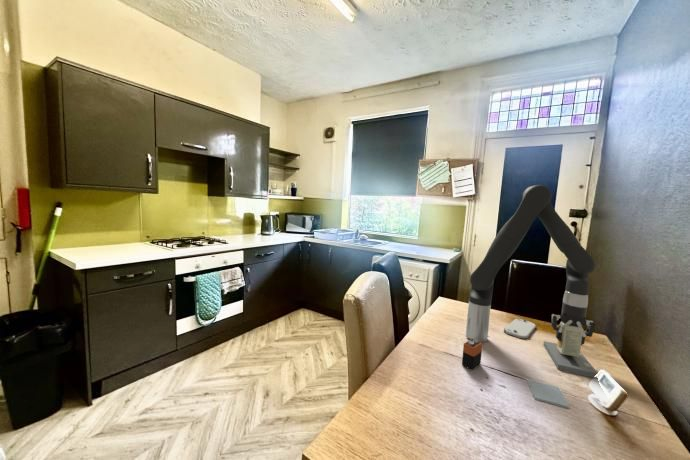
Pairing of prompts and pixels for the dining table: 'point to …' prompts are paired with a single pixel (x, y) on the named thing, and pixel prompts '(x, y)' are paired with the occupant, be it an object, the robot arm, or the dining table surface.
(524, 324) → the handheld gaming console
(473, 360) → the battery
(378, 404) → the dining table surface
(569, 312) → the robot arm
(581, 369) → the switch panel
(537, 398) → the mat
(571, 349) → the skincare box
